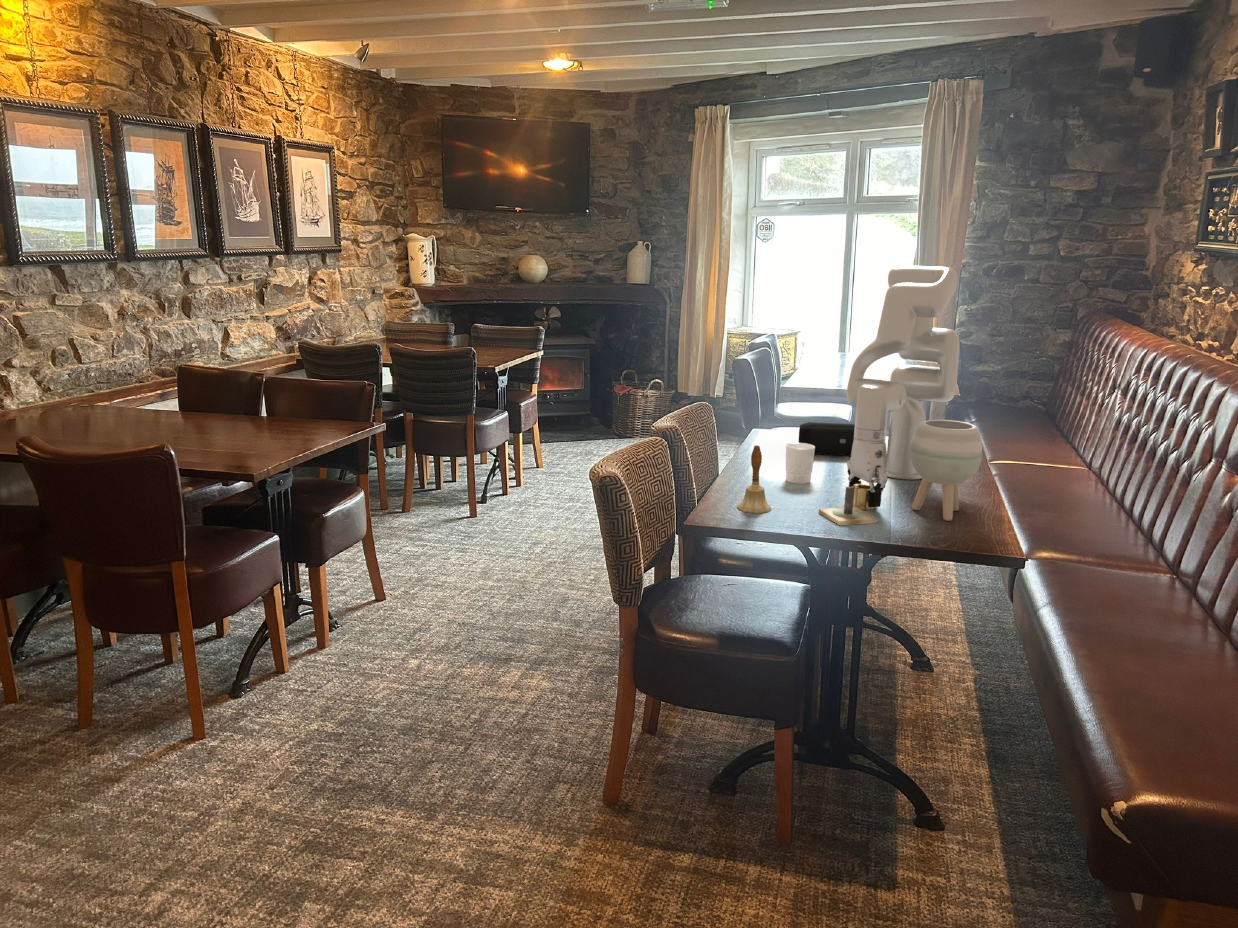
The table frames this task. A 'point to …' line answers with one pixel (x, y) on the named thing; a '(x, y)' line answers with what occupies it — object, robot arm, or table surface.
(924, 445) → the planter
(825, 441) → the portable speaker
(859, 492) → the collar
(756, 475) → the hand bell
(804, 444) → the white cup
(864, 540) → the table surface
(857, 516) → the post stand
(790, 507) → the table surface
